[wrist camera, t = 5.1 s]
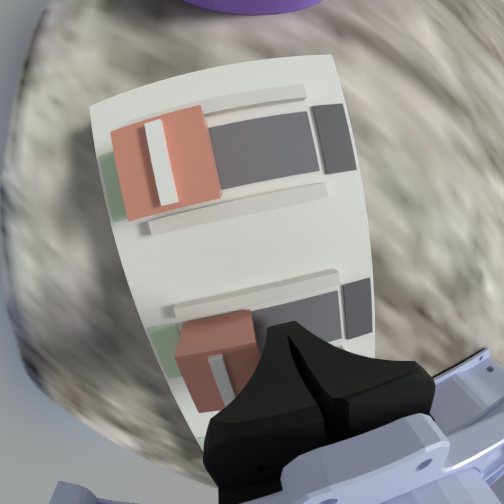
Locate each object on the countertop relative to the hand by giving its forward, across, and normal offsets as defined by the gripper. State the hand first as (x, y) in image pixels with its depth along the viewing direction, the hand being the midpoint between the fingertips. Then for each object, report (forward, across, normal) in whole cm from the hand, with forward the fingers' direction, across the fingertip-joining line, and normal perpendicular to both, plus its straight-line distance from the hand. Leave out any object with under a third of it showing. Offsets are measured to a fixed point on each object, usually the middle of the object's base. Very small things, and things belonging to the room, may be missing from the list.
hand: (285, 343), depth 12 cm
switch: (+1, +3, -8) cm, 8 cm away
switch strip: (+4, +1, 0) cm, 4 cm away
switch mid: (+1, +3, 0) cm, 3 cm away
